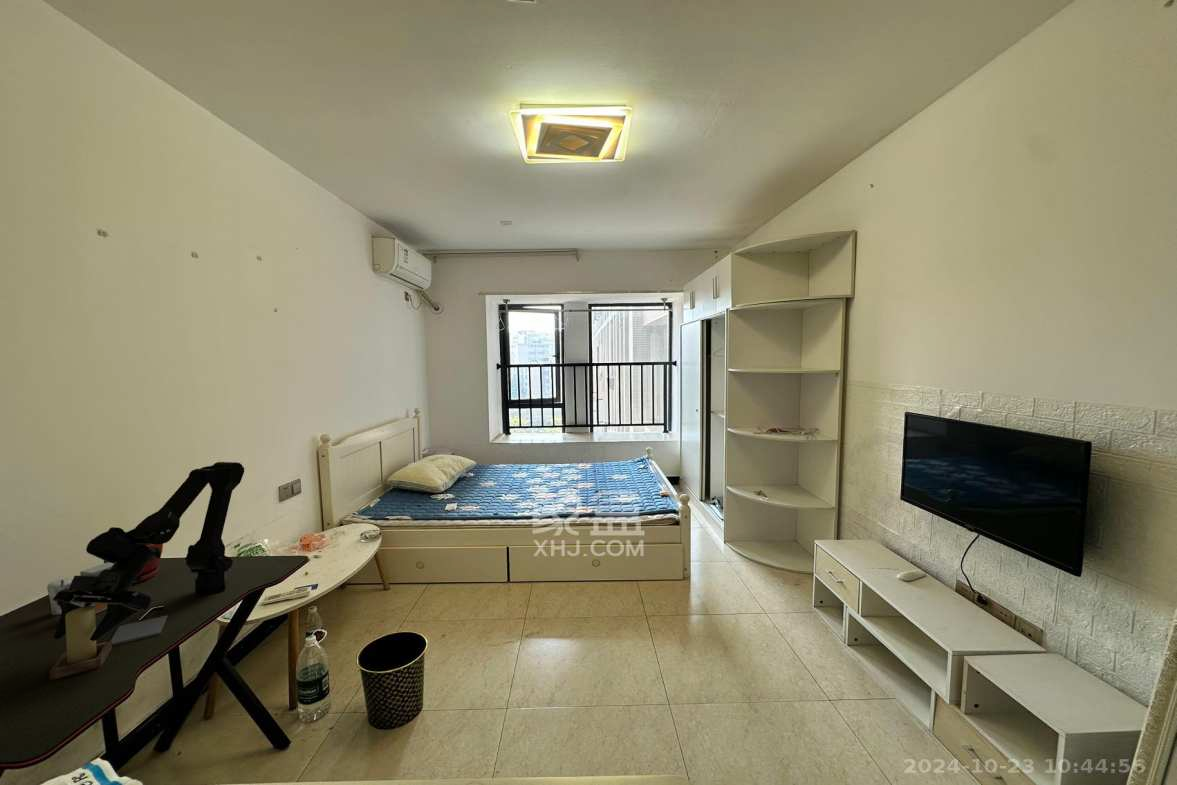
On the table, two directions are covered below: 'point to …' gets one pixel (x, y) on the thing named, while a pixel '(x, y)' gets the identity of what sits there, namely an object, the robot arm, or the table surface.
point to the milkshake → (54, 589)
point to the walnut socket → (63, 670)
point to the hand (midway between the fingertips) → (74, 639)
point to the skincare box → (97, 571)
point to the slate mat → (138, 630)
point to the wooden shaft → (80, 635)
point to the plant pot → (149, 563)
